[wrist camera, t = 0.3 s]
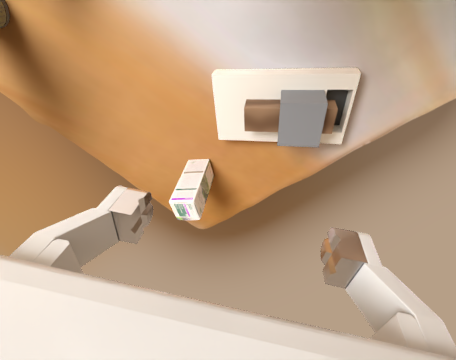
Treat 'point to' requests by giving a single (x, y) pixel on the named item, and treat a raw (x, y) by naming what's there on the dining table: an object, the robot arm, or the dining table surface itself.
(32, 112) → the dining table surface
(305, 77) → the board
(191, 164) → the syrup box
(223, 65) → the dining table surface
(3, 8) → the thermos
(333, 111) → the bar
